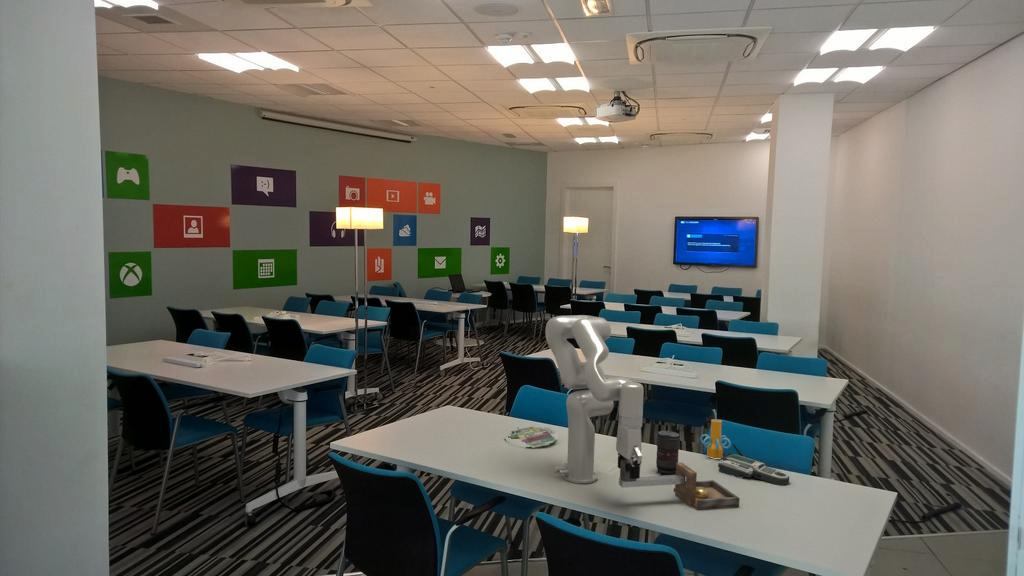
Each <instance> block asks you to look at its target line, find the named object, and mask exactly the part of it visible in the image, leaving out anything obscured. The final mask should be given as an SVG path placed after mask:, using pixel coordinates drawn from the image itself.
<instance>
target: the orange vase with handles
mask: <svg viewBox="0 0 1024 576" xmlns="http://www.w3.org/2000/svg"><path fill="white" fill-rule="evenodd" d="M722 422H723V421H722V420H721V419H715V418H714V419H711V420H710V435H709V434H706V433H705V434H704V433H703V434H702V435H701V436H700V442H701V443H702V444H703V447H705V448H707V449H706V450H707V452H706V456H709V457H713V458H722V459H723V456H724V455H723V454H724V449H730V448H731V446H732V442H731V440H730V439H729V438H728V437H727V436H726V435H724V434H723V435H722ZM704 437H705V438H704ZM703 438H704V439H703ZM707 440H708V441H707ZM706 441H707V442H706ZM723 441H724V443H723ZM727 443H728V445H727ZM725 445H727V446H725ZM709 457H708V458H709Z"/></svg>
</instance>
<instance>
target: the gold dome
mask: <svg viewBox="0 0 1024 576" xmlns="http://www.w3.org/2000/svg"><path fill="white" fill-rule="evenodd" d="M696 498H699V499H707V498H708V489H707V488H705V487H696Z"/></svg>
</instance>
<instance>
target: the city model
mask: <svg viewBox="0 0 1024 576" xmlns="http://www.w3.org/2000/svg"><path fill="white" fill-rule="evenodd" d="M510 432H511V433H509V434H510V435H511V436H508V435H507V436H508V438H511V439H519V440H521V441H522V442H525V443H526V444H527V445H529V446H530V447H532V448H531V449H535V448H538V447H543V446H544V447H545V446H549V445H550V444H553V443H554V442H556V440H557V439H558V438H559V433H558V432H557V430H555V429H553V428H550V427H543V426H542V427H541V426H539V427H538V426H537V427H536V426H529V427H524V428H520V429H519V428H517V429H516V430H512V431H510Z"/></svg>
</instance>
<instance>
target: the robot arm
mask: <svg viewBox="0 0 1024 576" xmlns="http://www.w3.org/2000/svg"><path fill="white" fill-rule="evenodd" d="M545 325H546V326H545V339H546V343H547V345H548V347H549V349H550V351H551V353H552V355H553V356H554V359H555V362H556V366H557V368H558V371H559V374H560V377H561V380H562V383H563V386H564V387H565V388H567V389H568V390H577V391H573V392H571V393H570V394H569V395H568V396H567V398H566V402H565V403H566V412H567V423H568V425H567V427H568V429H567V430H568V431H567V432H568V433H567V434H568V435H567V458H566V459H567V460H566V461H567V462H566V463H564V465H563V466H554V468H553V472H554V473H555V474H556V473H558V474H559V475H562V478H563V480H565V481H567V482H569V483H574V484H584V485H585V484H592V483H594V482H597V481H598V478H599V476H598V474H597V473H596V472H595V470H594V469H595V468H594V467H595V444H596V443H595V441H596V437H595V436H596V430H595V426H594V424H593V422H592V421H591V418H593V417H599V416H605V415H608V414H610V413H611V412H612V411H613V409H614V402H615V401H619V406H618V426H617V432H616V433H617V434H616V445H615V449H616V451H617V468H618V469H620V462H621V459H630V462H631V466H630V479H639V478H640V477H641V476H640V475H641V465H642V460H643V455H642V428H643V414H644V413H643V411H644V394H645V393H644V386H643V384H641V383H639V382H636V381H633V380H631V379H630V378H627V377H625V376H624V377H623V376H621V377H608V378H607V377H606V375H605V373H604V370H603V368H602V367H601V366H600V364H601V363H602V362H604V361H605V360H606V359H607V358H608V357H609V354H610V351H609V350H610V349H609V347H608V346H607V344H606V343H605V341H607V340H608V339H610V337H611V334H612V328H611V325H610V323H609V322H608V320H607V319H605V318H604V317H599V316H593V315H585V314H580V315H579V314H578V315H576V314H575V315H558V316H554V317H551V318H549V320H548V321H547V322H546V324H545ZM567 339H574V340H575V342H576V343H577V345H578V347H579V349H580V351H581V352H582V354H583V356H584V358H585V360H586V361H585V362H584V361H582V360H581V358H580V357H579V353H578V351H577V349H576V347H575V346H574V345H573V344H572V343H570V342H569V341H568V340H567ZM580 389H582V390H580ZM583 389H584V390H583ZM633 460H634V462H633Z"/></svg>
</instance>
